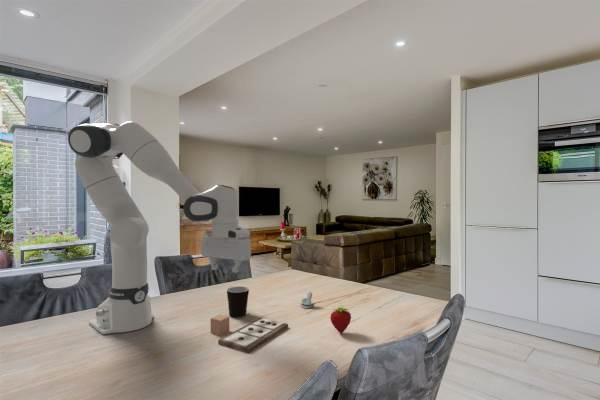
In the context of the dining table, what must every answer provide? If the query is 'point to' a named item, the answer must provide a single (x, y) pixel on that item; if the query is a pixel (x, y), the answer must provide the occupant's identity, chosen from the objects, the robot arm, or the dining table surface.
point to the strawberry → (340, 319)
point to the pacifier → (307, 301)
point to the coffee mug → (237, 301)
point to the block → (219, 324)
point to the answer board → (253, 334)
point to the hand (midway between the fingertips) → (224, 271)
